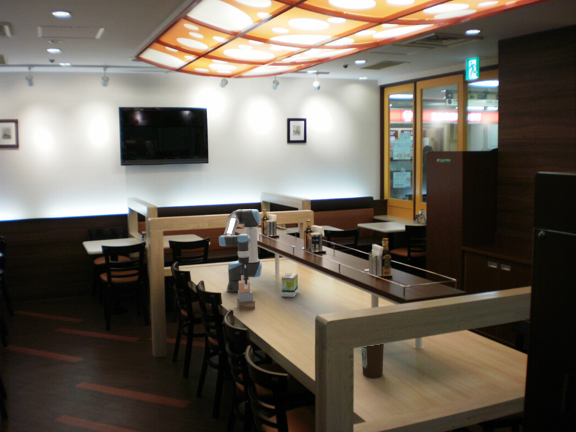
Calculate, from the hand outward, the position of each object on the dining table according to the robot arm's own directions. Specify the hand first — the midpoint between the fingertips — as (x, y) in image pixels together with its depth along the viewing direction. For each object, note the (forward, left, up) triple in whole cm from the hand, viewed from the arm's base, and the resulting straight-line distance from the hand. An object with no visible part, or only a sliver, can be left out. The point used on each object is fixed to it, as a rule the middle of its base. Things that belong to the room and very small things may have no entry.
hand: (244, 286), depth 361 cm
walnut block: (0, 0, -16) cm, 16 cm away
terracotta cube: (0, 0, -4) cm, 4 cm away
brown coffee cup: (+130, +42, -15) cm, 137 cm away
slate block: (0, 0, -10) cm, 10 cm away
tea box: (-25, +38, -16) cm, 48 cm away
